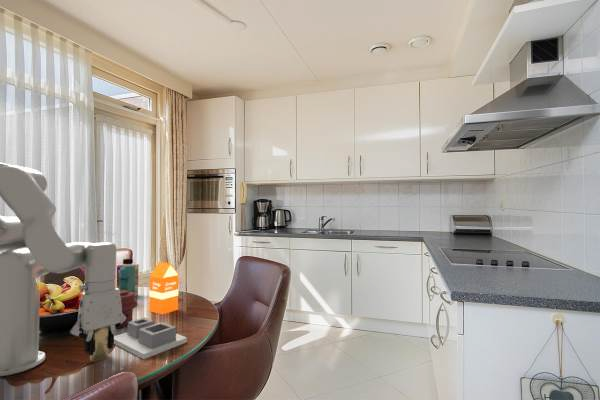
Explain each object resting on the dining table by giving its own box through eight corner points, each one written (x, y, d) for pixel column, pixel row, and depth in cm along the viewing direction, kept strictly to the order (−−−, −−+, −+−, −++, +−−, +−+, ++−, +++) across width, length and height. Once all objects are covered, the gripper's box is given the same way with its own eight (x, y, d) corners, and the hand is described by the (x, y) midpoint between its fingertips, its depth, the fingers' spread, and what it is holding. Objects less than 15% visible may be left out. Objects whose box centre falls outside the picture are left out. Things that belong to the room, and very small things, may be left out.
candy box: (138, 294, 157) (139, 263, 157) (134, 297, 152) (134, 265, 153) (120, 294, 156) (121, 263, 157) (115, 297, 152) (116, 265, 153)
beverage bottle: (120, 301, 145) (121, 258, 145) (136, 300, 147) (137, 257, 147) (116, 305, 138) (117, 260, 139) (133, 304, 140) (134, 259, 141)
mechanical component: (143, 321, 119) (123, 331, 109) (120, 320, 121) (98, 329, 111) (143, 289, 119) (123, 296, 109) (120, 287, 121) (99, 294, 111)
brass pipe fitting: (94, 363, 86) (94, 326, 87) (87, 359, 89) (87, 323, 89) (111, 357, 90) (111, 322, 90) (104, 353, 93) (104, 319, 93)
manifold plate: (143, 359, 89) (143, 339, 89) (110, 342, 100) (110, 324, 101) (186, 342, 100) (186, 324, 100) (152, 328, 112) (152, 312, 112)
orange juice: (161, 314, 127) (162, 264, 127) (148, 310, 131) (149, 262, 132) (178, 309, 133) (179, 262, 134) (165, 306, 138) (166, 260, 139)
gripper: (71, 294, 81) (69, 366, 80) (136, 282, 95) (135, 343, 94) (60, 290, 85) (58, 358, 85) (124, 279, 99) (123, 337, 99)
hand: (99, 349), depth 90 cm, fingers closed on brass pipe fitting, 4 cm apart
